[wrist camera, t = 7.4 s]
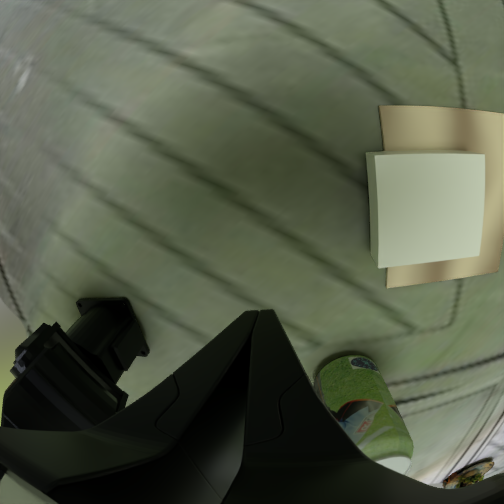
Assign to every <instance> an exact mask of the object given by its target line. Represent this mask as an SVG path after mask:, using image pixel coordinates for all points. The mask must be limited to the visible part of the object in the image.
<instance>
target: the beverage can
mask: <svg viewBox="0 0 504 504" xmlns="http://www.w3.org/2000/svg"><path fill="white" fill-rule="evenodd" d="M314 389H315V390H316V392H317V394H318V395H319V397H320V399H321V400H322V402H323V403H324V404H325V406H326V407H327V409H328V410H329V411H330V413H331V414H332V415H333V416H334V418H335V419H336V420H337V422H338V423H339V424H340V425H341V427H342V428H343V429H344V430H345V432H346V433H347V434H348V435H349V437H350V438H351V439H352V440H353V442H354V443H355V444H356V445H357V446H358V448H359V449H360V450H361V451H362V452H363V453H364V454H365V455H366V456H368V457H369V458H370V459H372V460H373V461H375V462H377V463H379V464H381V465H383V466H385V467H387V468H390V469H392V470H394V471H396V472H398V473H401V474H403V475H405V474H406V473H407V472H408V471H409V470H410V468H411V465H412V461H411V457H412V454H413V448H414V447H413V441H412V439H411V437H410V435H409V432H408V430H407V428H406V426H405V424H404V421H403V419H402V417H401V415H400V413H399V411H398V409H397V406H396V404H395V402H394V400H393V398H392V396H391V394H390V392H389V390H388V388H387V386H386V384H385V382H384V380H383V378H382V376H381V374H380V372H379V370H378V368H377V366H376V364H375V363H374V362H373V361H372V360H371V359H369V358H367V357H364V356H360V355H350V356H344V357H341V358H338V359H336V360H334V361H332V362H330V363H329V364H327V365H326V366H325V367H324V368H323V369H322V370H321V371H320V372H319V373H318V375H317V376H316V378H315V381H314Z"/></svg>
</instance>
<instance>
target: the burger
mask: <svg viewBox="0 0 504 504" xmlns="http://www.w3.org/2000/svg"><path fill="white" fill-rule="evenodd" d="M493 465H494V462H483V463H479V464H477V465H474V466H472V467H470V468H468V469H466V470H464V471H463V472H461V473H459V474H457V472H456V471H455V472H454V473H452V474H451V475H450V476H448V477H449V480H448V482H446V481H443V486H444V488H445V489H453V488H462V487H465V486H469V485H472V484H474V483H477V482H478V481H482V480H483V478H484V476H483V475H484V474H485V473H486V472H488V471H489V470H490V469H491V468H492V467H493Z"/></svg>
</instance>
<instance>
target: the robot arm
mask: <svg viewBox="0 0 504 504" xmlns="http://www.w3.org/2000/svg"><path fill="white" fill-rule="evenodd" d="M123 303H124V304H125V305H124V304H123ZM76 305H77V307H78V309H79V312H80V314H81V317H80V318H79V319H78V320H77V321H76V322H75V323H74V324H73V325H72V326H71V327H70V328H69V329H68V330H67V332H66V333H65V332H64V331H63V330H62V329H61V328H60V327H61V326H60V325H59V324H58V323H57V321H56V322H55V323H54V324H53V325H52V326H50V325H47V324H45V323H43V324H42V325H41V326H40V327H39V328H38V329H37V330H36V331H35V332H34V333H33V334H32V335H31V336H29V337H28V338H27V339H26V340H25V341H24V342H23V343H21V345H19V346H18V347H17V349H16V350H15V359H16V360H15V361H14V366H13V367H12V369H11V370H10V372H11V373H12V374H13V375H14V376H15V378H16V379H15V380H14V381H13V382H12V383H11V385H10V386H9V387H8V388H7V389H6V391H5V393H4V397H3V407H2V418H1V426H0V504H504V473H500V474H497V475H494V476H492V477H489V478H486V479H484V480H482V481H479V482H477V483H474V484H472V485H469V486H465V487H462V488H453V489H445V488H437V487H433V486H429V485H427V484H424V483H422V482H419V481H417V480H415V479H412V478H410V477H407V476H405V475H403V474H401V473H398V472H396V471H394V470H392V469H390V468H387V467H385V466H383V465H381V464H379V463H377V462H375V461H373V460H372V459H370V458H369V457H368V456H366V455H365V454H364V453H363V452H362V451H361V450H360V449H359V448H358V446H357V445H356V444H355V443H354V442H353V440H352V439H351V438H350V437H349V435H348V434H347V433H346V432H345V430H344V429H343V428H342V427H341V425H340V424H339V423H338V422H337V420H336V419H335V418H334V416H333V415H332V414H331V413H330V411H329V410H328V409H327V407H326V406H325V404H324V403H323V402H322V400H321V399H320V397H319V395H318V394H317V392H316V390H315V389H314V387H313V385H312V383H311V381H310V379H309V377H308V376H307V374H306V372H305V370H304V368H303V366H302V364H301V362H300V360H299V358H298V356H297V354H296V352H295V350H294V348H293V346H292V344H291V342H290V340H289V338H288V336H287V334H286V332H285V331H284V329H283V327H282V325H281V323H280V321H279V319H278V317H277V315H276V313H275V311H274V310H273V309H267V310H260V312H259V311H258V310H250V311H245V312H243V313H242V314H241V315H240V316H239V317H238V318H237V319H236V320H234V321H233V322H232V323H231V324H230V325H229V326H228V327H226V328H225V329H224V330H223V331H222V332H221V333H219V334H218V335H217V336H216V337H215V338H214V339H212V340H211V341H210V342H209V343H208V344H207V345H205V346H204V347H203V348H202V349H201V350H200V351H198V352H197V353H196V354H195V355H194V356H193V357H191V358H190V359H189V360H188V361H187V362H185V363H184V364H183V365H182V366H181V367H179V368H178V369H177V370H176V371H175V372H173V374H171V375H170V376H168V377H167V378H166V379H165V380H164V381H162V382H161V383H160V384H159V385H157V386H156V387H155V388H153V389H152V390H151V391H149V392H148V393H147V394H145V395H144V396H142V397H141V398H139V399H138V400H136V401H135V402H133V403H132V404H130V405H129V406H127V407H126V408H125V405H126V402H127V399H128V396H129V395H128V394H127V393H126V392H125V391H122V390H121V389H120V388H119V387H118V386H117V385H116V383H117V382H118V380H119V378H120V377H121V375H122V374H123V372H124V371H127V370H128V369H129V367H130V366H131V364H132V362H133V361H134V359H135V358H136V356H143V357H146V356H148V354H149V349H148V347H147V345H146V342H145V340H144V338H143V335H142V333H141V331H140V328H139V326H138V323H137V321H136V318H135V316H134V313H133V311H132V308H131V306H130V303H129V301H128V300H127V299H125V298H92V299H79V300H78V301H77V302H76Z"/></svg>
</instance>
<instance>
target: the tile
mask: <svg viewBox="0 0 504 504" xmlns="http://www.w3.org/2000/svg"><path fill="white" fill-rule="evenodd" d="M366 162H367V173H368V188H369V206H370V238H371V256H372V258H373V260H374V261H375V263H376V265H377V267H378V268H386V267H395V266H403V265H412V264H420V263H429V262H437V261H445V260H452V259H460V258H467V257H475V256H479V254H480V246H481V238H482V228H483V216H484V200H485V154H481V153H476V152H472V151H461V150H409V151H380V152H366Z"/></svg>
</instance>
